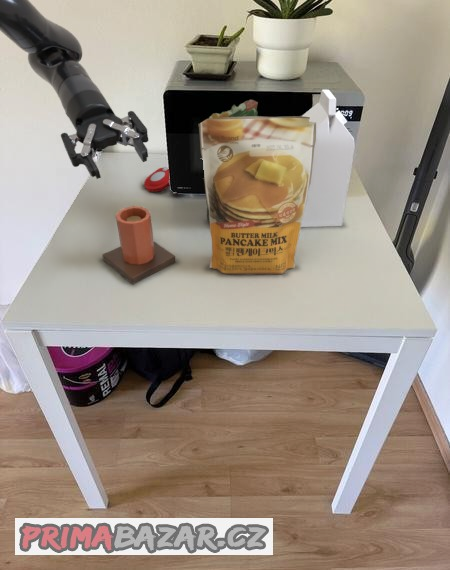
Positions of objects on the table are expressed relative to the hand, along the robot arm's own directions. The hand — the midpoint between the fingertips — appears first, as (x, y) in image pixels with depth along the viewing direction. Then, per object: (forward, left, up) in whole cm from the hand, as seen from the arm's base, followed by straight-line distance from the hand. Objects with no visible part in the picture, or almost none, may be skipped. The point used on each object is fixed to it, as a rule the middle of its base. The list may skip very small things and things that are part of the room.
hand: (121, 166), depth 75 cm
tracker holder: (+14, +25, -19) cm, 35 cm away
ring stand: (0, -2, -19) cm, 19 cm away
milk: (+41, +1, -19) cm, 46 cm away
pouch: (+23, +6, -19) cm, 31 cm away
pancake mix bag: (+20, -12, -19) cm, 30 cm away
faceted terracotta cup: (0, -2, -17) cm, 18 cm away
